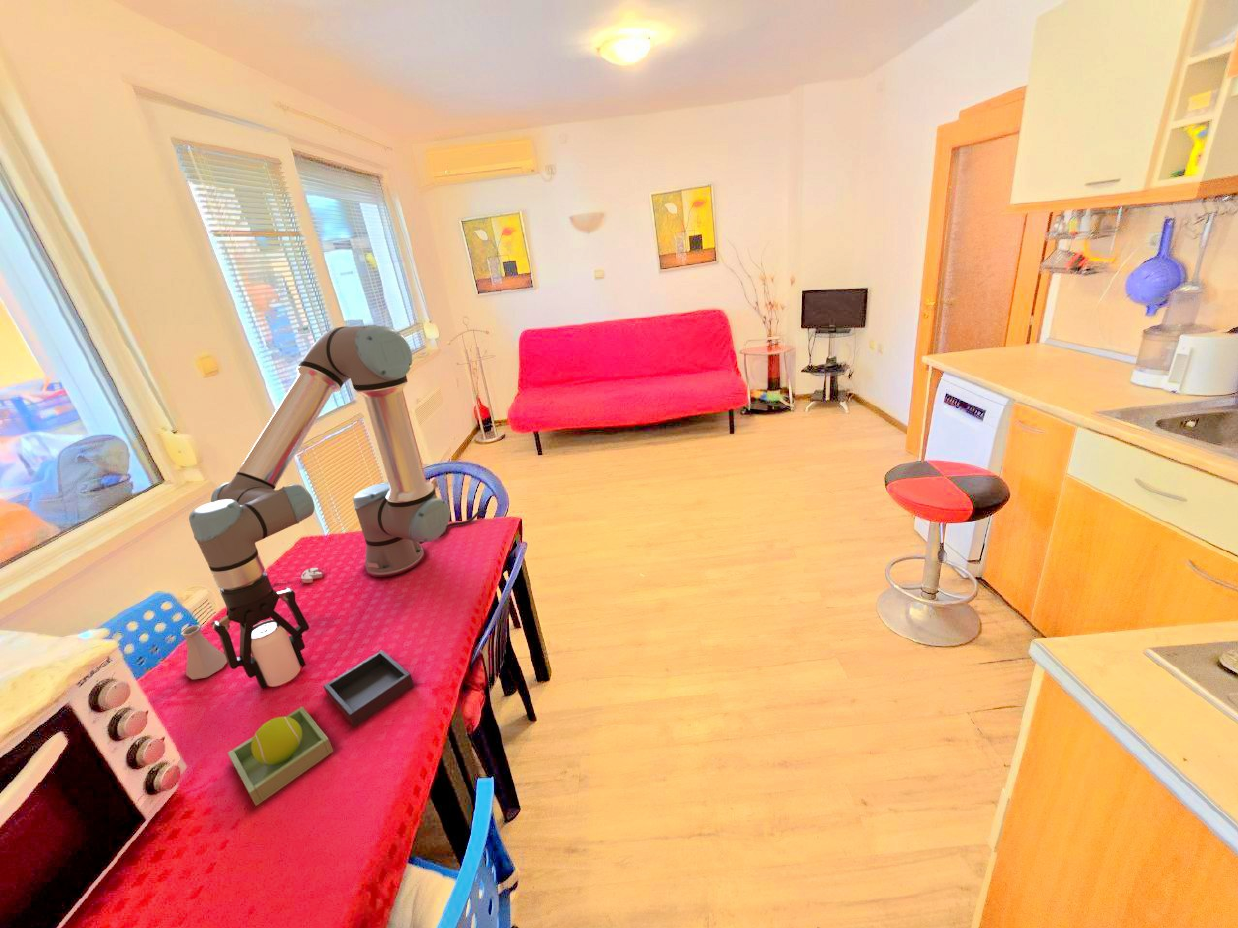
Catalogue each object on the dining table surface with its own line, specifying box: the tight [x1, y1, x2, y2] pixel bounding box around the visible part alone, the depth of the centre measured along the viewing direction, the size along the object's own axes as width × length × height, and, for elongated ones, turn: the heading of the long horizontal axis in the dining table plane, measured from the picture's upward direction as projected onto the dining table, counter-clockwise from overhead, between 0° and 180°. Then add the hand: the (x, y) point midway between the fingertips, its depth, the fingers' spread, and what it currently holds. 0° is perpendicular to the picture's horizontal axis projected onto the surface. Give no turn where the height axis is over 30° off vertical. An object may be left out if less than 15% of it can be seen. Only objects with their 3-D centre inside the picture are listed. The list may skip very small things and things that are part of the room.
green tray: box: [227, 706, 334, 807], centre depth 84 cm, size 12×12×3 cm
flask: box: [180, 624, 228, 680], centre depth 106 cm, size 7×7×10 cm
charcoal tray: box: [323, 649, 415, 728], centre depth 97 cm, size 12×12×3 cm
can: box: [251, 619, 302, 688], centre depth 101 cm, size 6×6×12 cm
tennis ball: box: [251, 716, 302, 765], centre depth 84 cm, size 7×7×7 cm
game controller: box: [277, 567, 323, 584], centre depth 136 cm, size 6×12×3 cm, turn 121°
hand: (282, 673), depth 103 cm, fingers closed on can, 6 cm apart
